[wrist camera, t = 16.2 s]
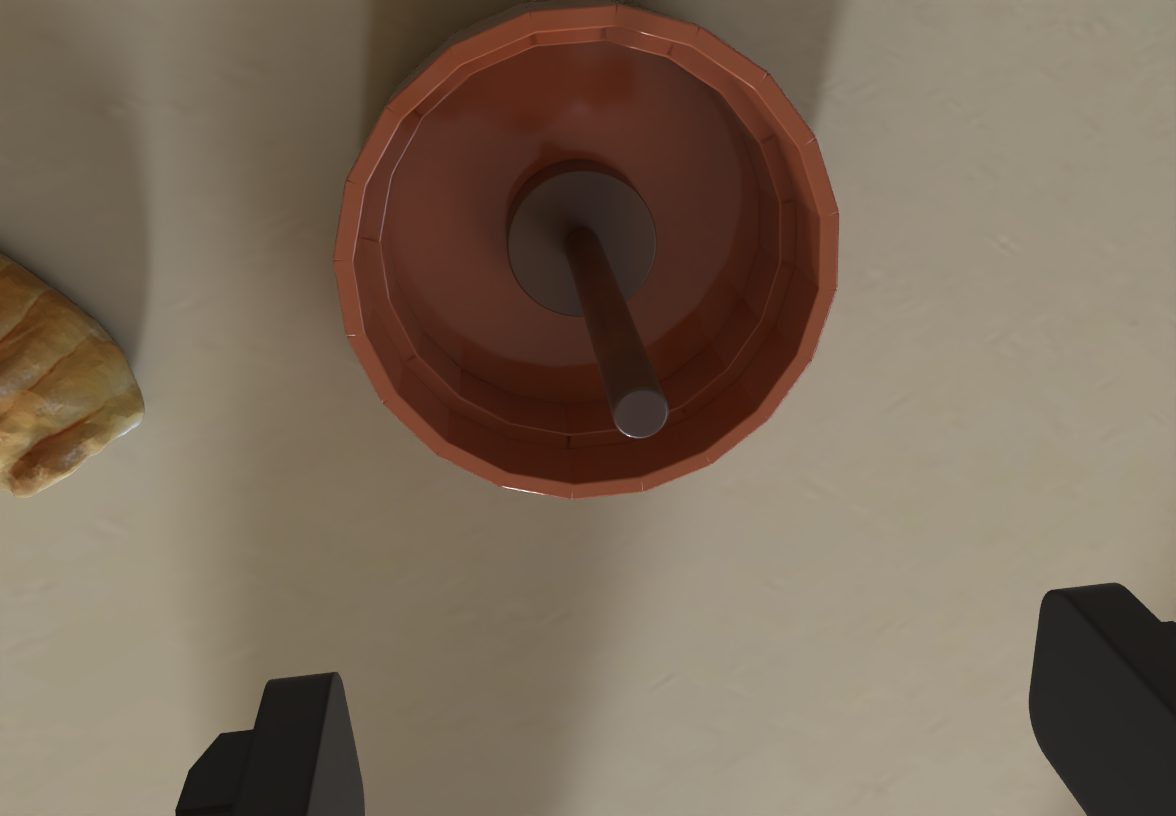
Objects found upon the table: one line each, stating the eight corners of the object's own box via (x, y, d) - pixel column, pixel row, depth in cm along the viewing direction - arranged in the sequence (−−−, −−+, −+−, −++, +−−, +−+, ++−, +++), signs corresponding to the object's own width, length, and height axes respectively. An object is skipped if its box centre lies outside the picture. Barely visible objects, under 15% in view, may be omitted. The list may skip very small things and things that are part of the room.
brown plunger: (513, 306, 38) (533, 529, 23) (498, 165, 36) (510, 312, 21) (651, 293, 38) (758, 505, 23) (644, 152, 36) (757, 288, 21)
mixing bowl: (391, 443, 40) (377, 521, 35) (323, 17, 34) (292, 29, 29) (786, 402, 41) (833, 472, 35) (788, -21, 35) (845, -15, 29)
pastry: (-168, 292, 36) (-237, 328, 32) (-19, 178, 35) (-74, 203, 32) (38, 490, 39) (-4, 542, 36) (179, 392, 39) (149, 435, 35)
